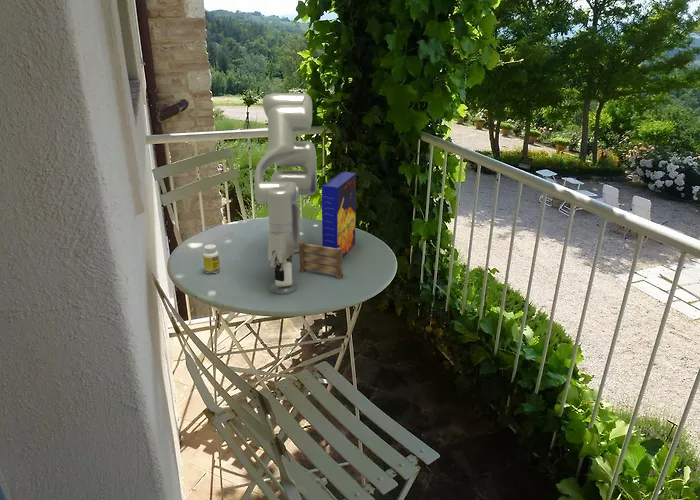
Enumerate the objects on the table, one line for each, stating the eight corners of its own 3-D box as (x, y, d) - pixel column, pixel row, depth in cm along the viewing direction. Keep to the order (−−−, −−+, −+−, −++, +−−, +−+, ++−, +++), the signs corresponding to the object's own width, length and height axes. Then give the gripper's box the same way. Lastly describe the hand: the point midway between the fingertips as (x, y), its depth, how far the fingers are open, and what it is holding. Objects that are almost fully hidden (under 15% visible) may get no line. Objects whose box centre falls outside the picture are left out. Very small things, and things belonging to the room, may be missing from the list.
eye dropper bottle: (288, 288, 166) (287, 255, 161) (273, 285, 168) (271, 253, 163) (294, 282, 170) (293, 250, 165) (279, 280, 171) (277, 248, 167)
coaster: (265, 291, 167) (265, 289, 166) (278, 280, 174) (278, 278, 174) (289, 296, 164) (289, 294, 163) (301, 284, 171) (301, 283, 171)
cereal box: (337, 265, 187) (337, 187, 175) (322, 262, 188) (321, 185, 177) (355, 244, 206) (356, 172, 194) (341, 242, 208) (341, 171, 196)
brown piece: (299, 271, 181) (298, 243, 177) (302, 268, 184) (302, 240, 179) (340, 279, 176) (340, 250, 171) (343, 275, 178) (343, 247, 174)
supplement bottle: (215, 275, 177) (212, 250, 174) (201, 273, 179) (198, 248, 175) (223, 269, 182) (220, 244, 178) (210, 267, 184) (207, 242, 180)
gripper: (283, 216, 169) (285, 265, 176) (257, 233, 154) (260, 286, 162) (303, 219, 166) (304, 269, 174) (278, 236, 152) (281, 290, 159)
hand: (283, 276), depth 168 cm, fingers closed on eye dropper bottle, 4 cm apart
